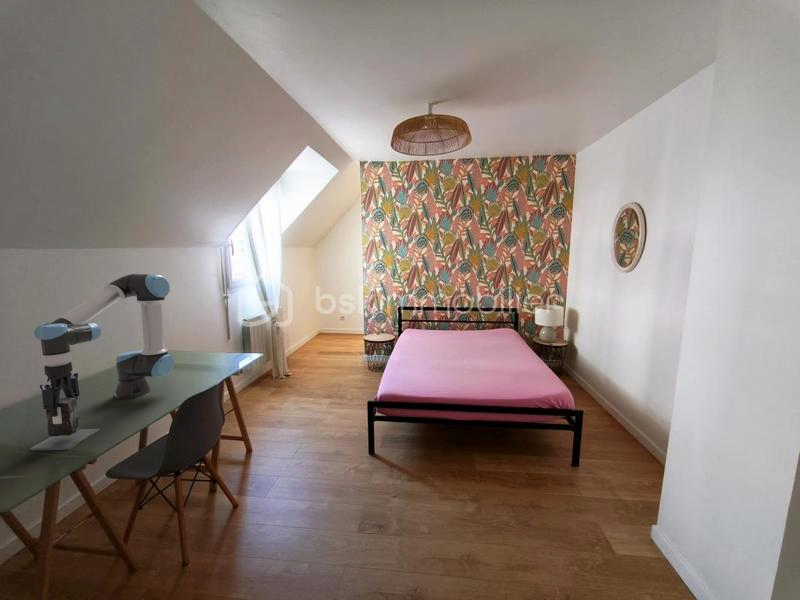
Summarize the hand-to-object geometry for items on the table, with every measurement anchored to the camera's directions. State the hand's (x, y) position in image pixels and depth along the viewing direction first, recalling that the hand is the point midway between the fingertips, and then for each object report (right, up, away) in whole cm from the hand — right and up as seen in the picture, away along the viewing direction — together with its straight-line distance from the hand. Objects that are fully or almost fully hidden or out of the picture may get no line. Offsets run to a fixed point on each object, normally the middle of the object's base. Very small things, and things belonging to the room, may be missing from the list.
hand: (64, 419), depth 131 cm
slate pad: (0, -9, +1) cm, 9 cm away
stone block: (0, -7, -1) cm, 7 cm away
